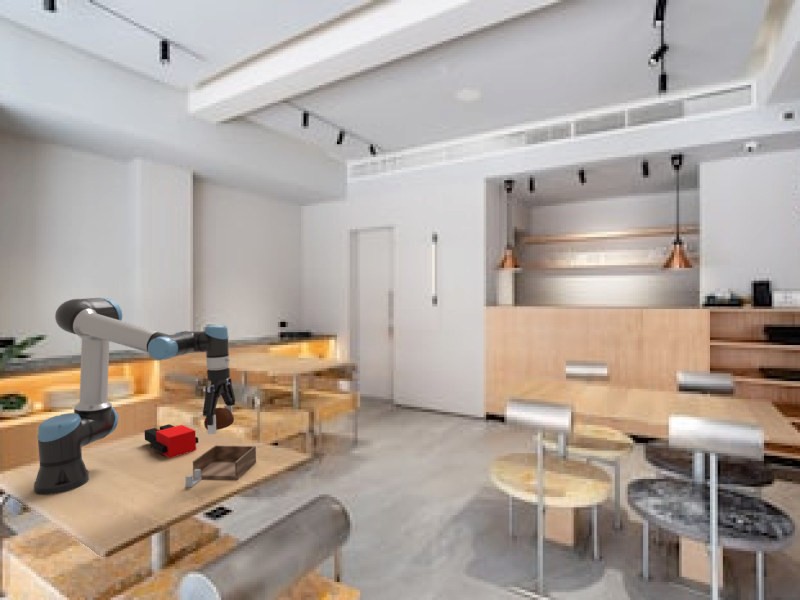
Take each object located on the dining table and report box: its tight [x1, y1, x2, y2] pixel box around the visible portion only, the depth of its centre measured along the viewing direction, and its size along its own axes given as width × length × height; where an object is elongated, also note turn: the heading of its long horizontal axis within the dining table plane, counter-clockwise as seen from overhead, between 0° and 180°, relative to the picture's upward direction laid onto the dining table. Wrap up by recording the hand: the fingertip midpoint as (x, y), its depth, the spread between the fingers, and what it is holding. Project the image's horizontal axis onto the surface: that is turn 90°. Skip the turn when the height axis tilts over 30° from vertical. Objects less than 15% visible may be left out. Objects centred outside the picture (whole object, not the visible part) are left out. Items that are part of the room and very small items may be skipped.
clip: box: [184, 469, 202, 488], centre depth 151 cm, size 2×6×4 cm, turn 174°
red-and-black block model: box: [144, 423, 199, 459], centre depth 186 cm, size 15×8×25 cm
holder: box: [192, 445, 257, 481], centre depth 162 cm, size 16×15×6 cm
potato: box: [203, 407, 235, 431], centre depth 158 cm, size 8×12×8 cm, turn 156°
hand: (220, 428), depth 158 cm, fingers closed on potato, 11 cm apart
